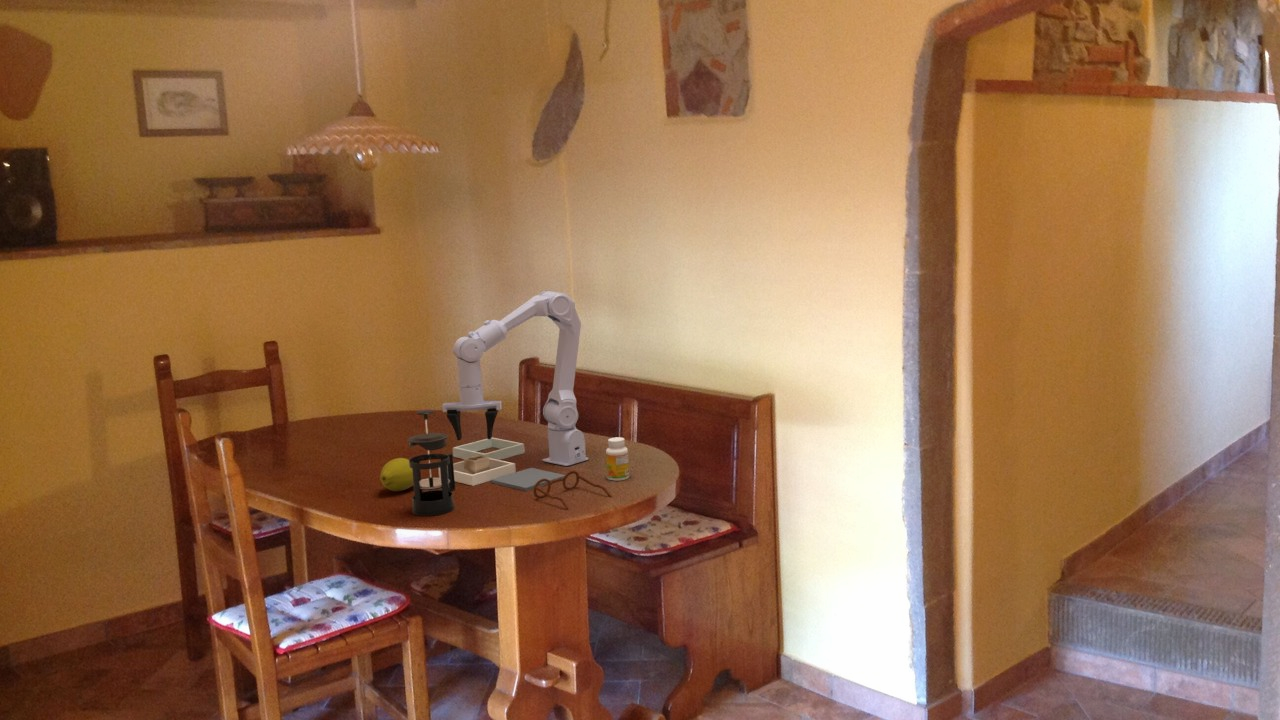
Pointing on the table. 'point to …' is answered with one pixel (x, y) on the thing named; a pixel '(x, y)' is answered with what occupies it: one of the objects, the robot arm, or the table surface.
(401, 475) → the lemon
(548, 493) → the glasses
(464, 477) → the bin
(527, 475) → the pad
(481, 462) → the letter cube
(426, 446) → the french press
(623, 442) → the supplement bottle
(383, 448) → the table surface
